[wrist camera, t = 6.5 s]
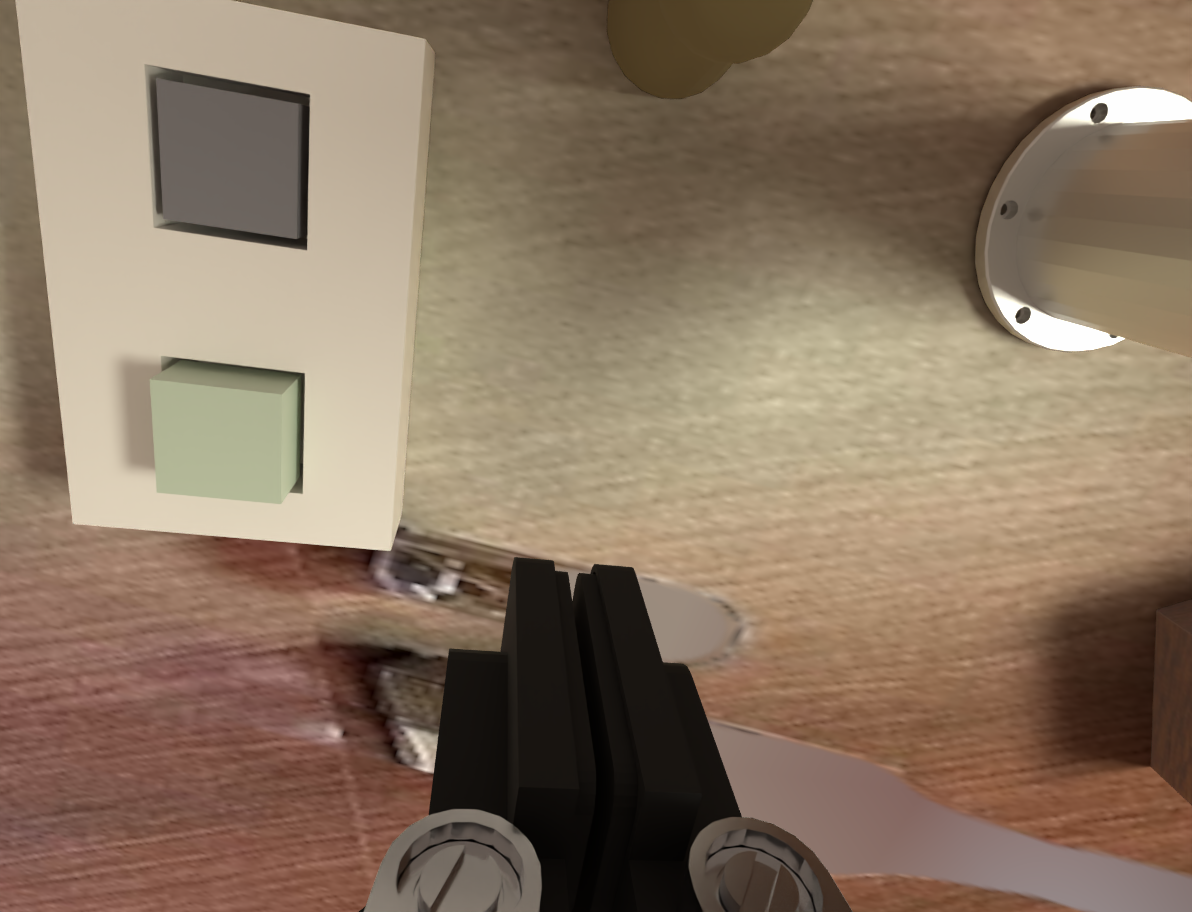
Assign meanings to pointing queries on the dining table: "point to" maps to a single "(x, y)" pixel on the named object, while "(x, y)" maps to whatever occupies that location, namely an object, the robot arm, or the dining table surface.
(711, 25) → the brown pawn
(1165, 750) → the tissue box cover
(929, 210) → the dining table surface
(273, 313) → the key panel
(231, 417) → the sage key
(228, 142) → the charcoal key
